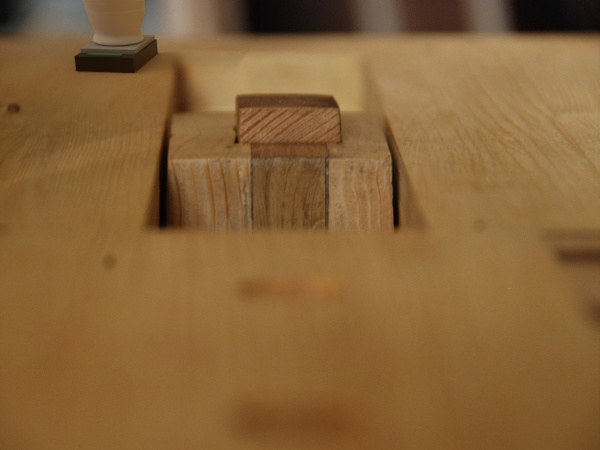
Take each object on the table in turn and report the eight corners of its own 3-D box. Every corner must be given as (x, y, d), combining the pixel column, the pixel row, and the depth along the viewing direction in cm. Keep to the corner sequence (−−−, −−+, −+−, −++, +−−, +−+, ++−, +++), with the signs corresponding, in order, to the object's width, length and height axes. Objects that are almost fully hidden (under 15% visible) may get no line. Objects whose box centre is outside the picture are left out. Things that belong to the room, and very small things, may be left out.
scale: (75, 71, 130) (73, 51, 129) (104, 51, 143) (102, 33, 142) (134, 72, 129) (132, 52, 128) (157, 53, 142) (156, 34, 141)
